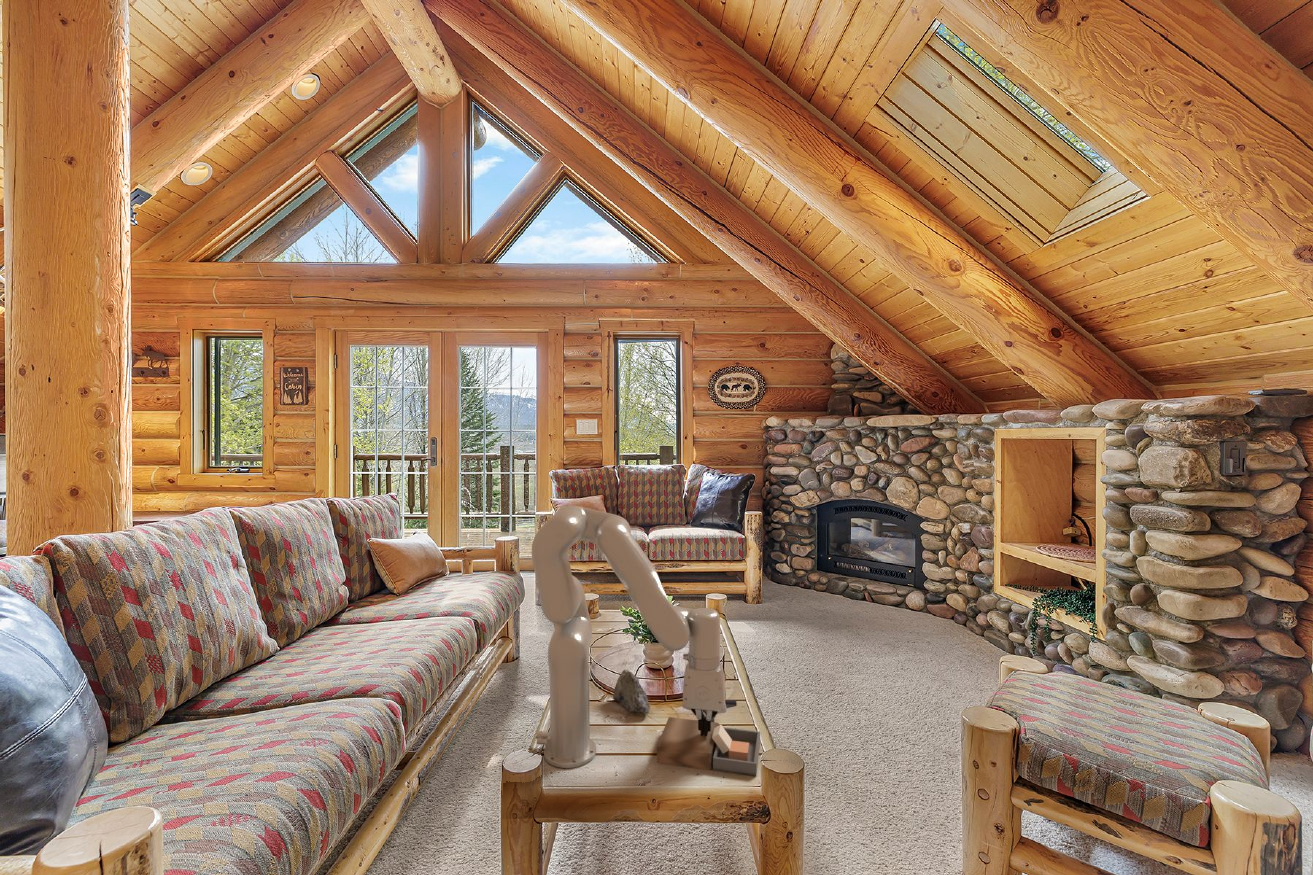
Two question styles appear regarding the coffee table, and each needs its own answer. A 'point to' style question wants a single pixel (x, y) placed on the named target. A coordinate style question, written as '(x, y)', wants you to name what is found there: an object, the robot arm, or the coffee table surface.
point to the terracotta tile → (739, 750)
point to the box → (739, 766)
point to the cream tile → (721, 738)
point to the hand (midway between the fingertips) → (704, 733)
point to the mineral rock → (631, 693)
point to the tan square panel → (686, 744)
